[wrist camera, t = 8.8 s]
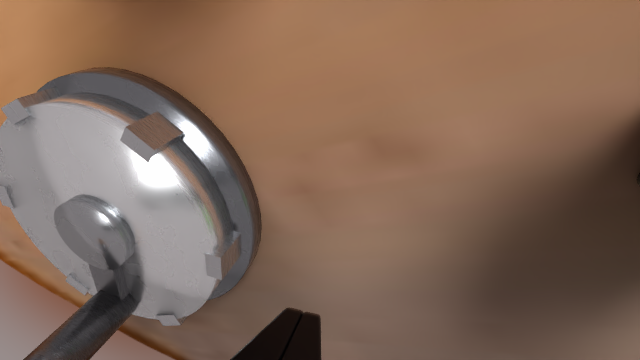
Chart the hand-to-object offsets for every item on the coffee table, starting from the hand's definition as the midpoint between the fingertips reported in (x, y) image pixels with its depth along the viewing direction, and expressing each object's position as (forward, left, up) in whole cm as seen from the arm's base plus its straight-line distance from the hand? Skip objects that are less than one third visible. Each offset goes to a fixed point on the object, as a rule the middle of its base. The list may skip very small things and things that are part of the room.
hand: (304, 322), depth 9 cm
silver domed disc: (+16, +9, -10) cm, 21 cm away
